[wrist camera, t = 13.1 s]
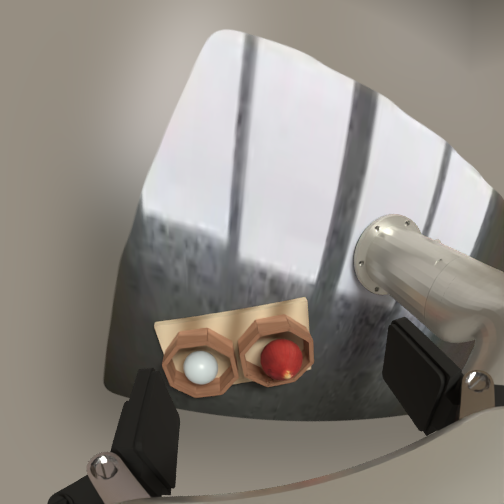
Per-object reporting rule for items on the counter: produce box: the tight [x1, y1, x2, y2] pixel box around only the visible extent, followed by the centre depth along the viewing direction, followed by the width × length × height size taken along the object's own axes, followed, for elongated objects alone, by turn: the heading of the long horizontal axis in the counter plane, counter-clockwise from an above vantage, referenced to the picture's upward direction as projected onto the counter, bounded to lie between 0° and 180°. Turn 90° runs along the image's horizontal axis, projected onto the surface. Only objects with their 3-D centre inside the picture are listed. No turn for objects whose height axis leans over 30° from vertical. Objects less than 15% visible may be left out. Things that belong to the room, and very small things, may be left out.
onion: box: [260, 339, 303, 381], centre depth 38 cm, size 6×6×8 cm
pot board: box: [154, 297, 314, 398], centre depth 41 cm, size 22×13×5 cm, turn 98°
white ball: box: [183, 351, 218, 384], centre depth 39 cm, size 5×5×5 cm
